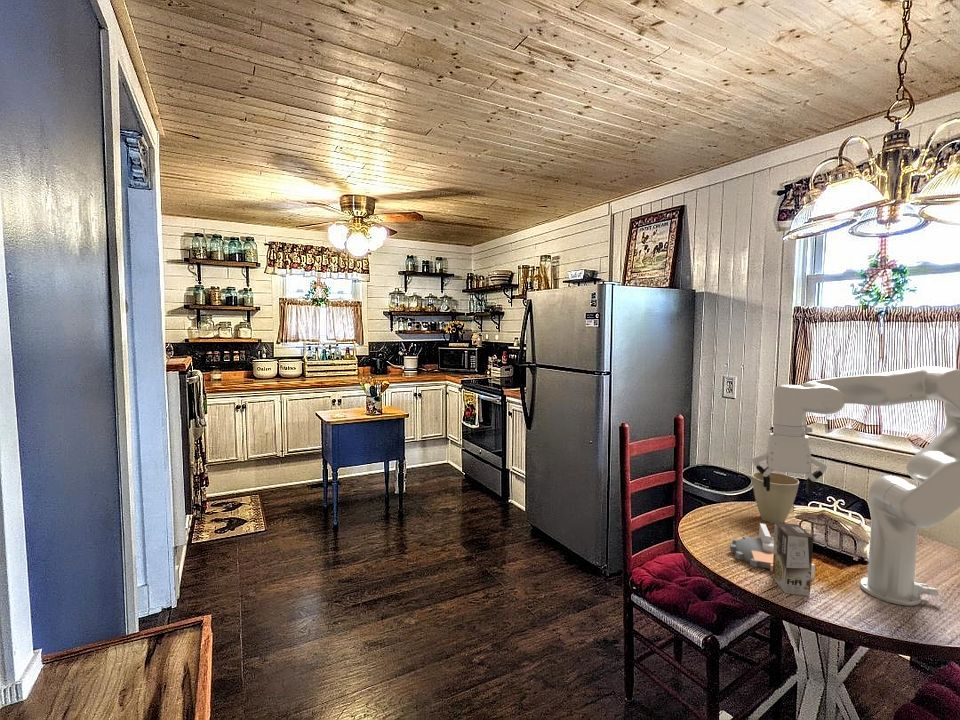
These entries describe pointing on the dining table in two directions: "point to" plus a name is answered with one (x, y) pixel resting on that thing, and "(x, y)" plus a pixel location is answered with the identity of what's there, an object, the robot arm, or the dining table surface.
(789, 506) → the plant pot
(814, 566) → the wheel stand
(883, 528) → the robot arm
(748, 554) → the index wheel
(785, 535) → the coffee box
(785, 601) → the dining table surface
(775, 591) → the dining table surface
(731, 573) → the dining table surface
